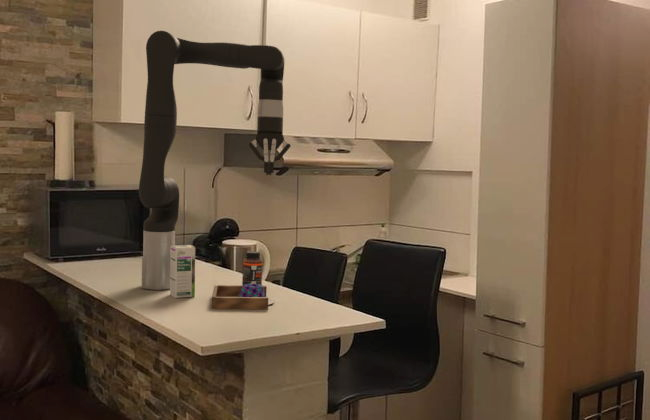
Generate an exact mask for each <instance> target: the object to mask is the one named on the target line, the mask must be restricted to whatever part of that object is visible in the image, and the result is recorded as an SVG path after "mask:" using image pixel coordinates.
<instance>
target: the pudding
mask: <svg viewBox="0 0 650 420" xmlns="http://www.w3.org/2000/svg"><path fill="white" fill-rule="evenodd" d="M263 286H264V285H263V284H262V285H260V284H245V285H243V286H242V288H241V291H240V295H239V296H238V297H265V292H264V287H263ZM274 302H275V301H274V300H273V299H272V298H268V306H270V305H271V304H274Z"/></svg>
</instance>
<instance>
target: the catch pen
mask: <svg viewBox="0 0 650 420" xmlns="http://www.w3.org/2000/svg"><path fill="white" fill-rule="evenodd" d="M242 286H243V285H237V284H236V285H235V284H233V285H232V284H231V285H230V284H229V285H228V284H226V285H225V284H217V285H214V286H213V288H212V289H213V290H212V294H211V309H215V310H269V305H268V299H269V297H267V288H268V287H267V285H262V286H263V287H264V292H265V297H239V295H240V291H241V288H242Z"/></svg>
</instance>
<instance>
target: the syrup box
mask: <svg viewBox="0 0 650 420" xmlns="http://www.w3.org/2000/svg"><path fill="white" fill-rule="evenodd" d="M195 282H196V246H194V245H192V244H183V245H182V244H180V245H179V244H178V245H176V244H175V245H173V246H170V289H169V294H170V295H171V296H172V298H174V299H180V298H195V296H196V290H195V289H196V288H195V287H196V283H195Z"/></svg>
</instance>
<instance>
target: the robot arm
mask: <svg viewBox="0 0 650 420" xmlns="http://www.w3.org/2000/svg"><path fill="white" fill-rule="evenodd" d="M145 53H146V55H145V56H146V68H147V69H146V70H147V84H146V93H145V108H144V123H143V124H144V125H143V126H144V128H143V130H144V131H143V132H144V134H143V152H142V154H143V155H142V161H141V162H142V163H141V169H140V170H141V171H140V178H139V185H138V196H139V201H140V202H141V204H142V205H143V206H144V207H145V208H147V209H151V212H150V214H149V216H148V217H147V218H146V219H145V220H144V221H143V237H142V238H143V241H142V242H143V247H142V248H143V249H142V251H143V252H142V255H143V256H141V289H147V290H154V291H155V290H157V291H159V290H161V291H162V290H163V291H164V290H170V246H173V245H176V225H177V223H178V219H179V212H180V211H179V209H180V188H179V185H178V183H177V181H176V180H175V179H174V178H172V177H170V176H165V165H166V159H167V156H168V154H169V151H170V149H171V147H172V145H173V143H174V140H175V138H176V134H177V126H178V125H177V123H178V122H177V121H178V107H177V100H176V93H175V87H174V70H175V65H182V64H183V65H184V64H197V65H198V64H200V65H210V66H217V67H224V68H234V69H242V70H244V69H258V70H261V71H260V83H259V87H258V105H257V113H256V114H257V120H256V122H257V124H256V126H257V127H256V129H257V130H256V135H255V137H254V139H253V140H252V141H250V142H248V147H249V148H250V149H251V151H252V153H254V155H255V156H256V157H257V159H258V160H260V161H262V162H263V173H264V174H265V175H267V176H272V174H273V173H274V167H275V166H274V165H275V162H277V161H280V160H281V159H282V158H283V156H284V155H285V154H286V153H287V151H288V150H289V149H290V148H291V144H290V143H288V142H287V141H286V140H285V137H284V135H283V134H284V133H283V130H284V127H283V126H284V105H283V104H284V101H283V100H284V99H283V98H284V88H283V87H284V85H283V81H284V74H285V73H284V72H285V57H284V54H283V52H282V50H280V48H278V47H277V46H275V45H274V46H273V45H266V44H265V45H264V44H251V45H249V44H243V43H236V42H235V43H234V42H198V41H193V40H188V39H183V38H180V37H176V36H175V35H174V34H172V33H171V32H168V31H165V30H156V31H154V32H153V33H151V34H150V36H149V37H148V39H147V41H146V45H145ZM257 144H258V145H257ZM281 145H282V146H281ZM258 146H259V147H260V149H261V150H262V151H263V155H262V154H261V153H260V152H259V150H258V149H257V147H258ZM280 146H281V147H282V149H281V151H280V152H279V153H278V154H277V156H275V155H276V151H277V150H278V149H279V148H280ZM269 151H270V154H269ZM269 155H270V156H269Z"/></svg>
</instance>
